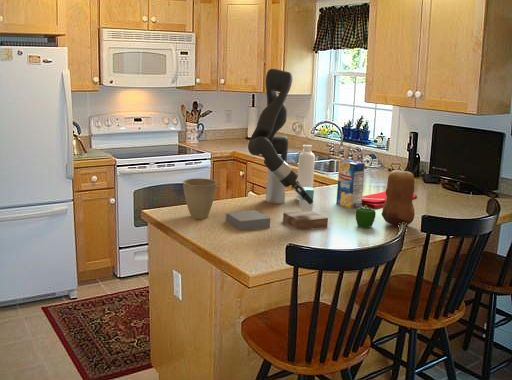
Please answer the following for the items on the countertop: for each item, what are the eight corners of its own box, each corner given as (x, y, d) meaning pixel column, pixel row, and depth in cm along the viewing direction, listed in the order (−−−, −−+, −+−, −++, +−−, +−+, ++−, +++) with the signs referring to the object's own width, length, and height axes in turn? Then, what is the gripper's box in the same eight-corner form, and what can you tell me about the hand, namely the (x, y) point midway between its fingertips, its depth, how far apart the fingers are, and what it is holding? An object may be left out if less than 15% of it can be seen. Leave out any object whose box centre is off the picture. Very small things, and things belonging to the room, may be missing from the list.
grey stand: (225, 221, 251) (226, 212, 251) (254, 218, 258) (254, 210, 257) (240, 230, 239) (240, 221, 239) (269, 227, 246) (270, 218, 245)
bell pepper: (360, 222, 259) (362, 201, 257) (377, 226, 254) (379, 204, 252) (351, 226, 253) (352, 204, 250) (367, 230, 248) (369, 207, 245)
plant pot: (178, 213, 261) (179, 178, 258) (210, 211, 267) (211, 177, 263) (186, 222, 248) (187, 186, 244) (220, 220, 253) (221, 184, 250)
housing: (301, 210, 249) (302, 189, 247) (298, 207, 254) (300, 187, 252) (312, 210, 250) (313, 190, 247) (309, 207, 254) (311, 187, 252)
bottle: (312, 201, 295) (316, 146, 289) (296, 200, 295) (299, 146, 289) (311, 197, 303) (314, 144, 297) (295, 197, 303) (299, 143, 297)
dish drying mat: (417, 198, 313) (418, 192, 313) (375, 210, 285) (376, 203, 284) (392, 193, 324) (392, 186, 323) (349, 204, 295) (349, 196, 294)
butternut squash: (407, 222, 264) (413, 168, 258) (416, 230, 251) (423, 173, 245) (377, 221, 263) (382, 167, 258) (385, 229, 250) (390, 172, 245)
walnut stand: (283, 221, 256) (283, 212, 255) (309, 218, 262) (310, 210, 261) (299, 230, 244) (300, 220, 243) (327, 227, 250) (328, 218, 249)
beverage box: (351, 208, 284) (355, 164, 279) (336, 203, 293) (339, 160, 288) (361, 207, 288) (365, 163, 283) (346, 202, 297) (349, 159, 292)
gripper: (294, 171, 240) (320, 199, 244) (287, 164, 253) (312, 191, 258) (281, 183, 240) (307, 211, 245) (275, 176, 254) (300, 202, 258)
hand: (310, 201), depth 251 cm, fingers closed on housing, 5 cm apart
